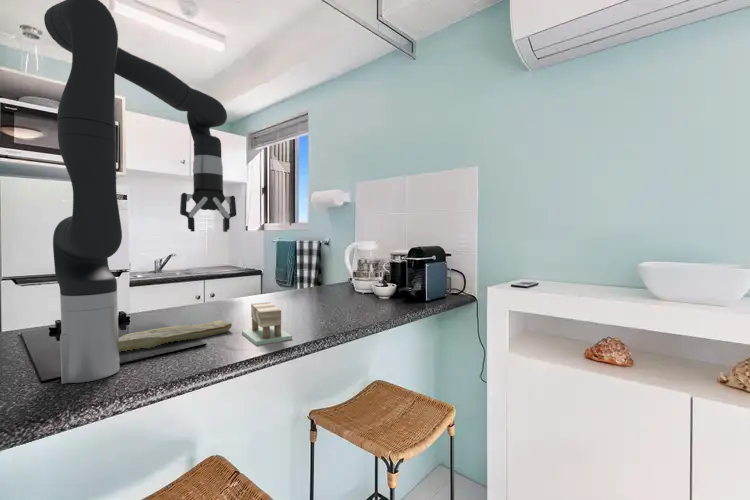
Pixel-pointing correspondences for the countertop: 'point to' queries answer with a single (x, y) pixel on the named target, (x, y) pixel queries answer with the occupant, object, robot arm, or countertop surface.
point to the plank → (266, 314)
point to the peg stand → (265, 334)
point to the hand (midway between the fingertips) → (209, 231)
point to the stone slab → (171, 334)
